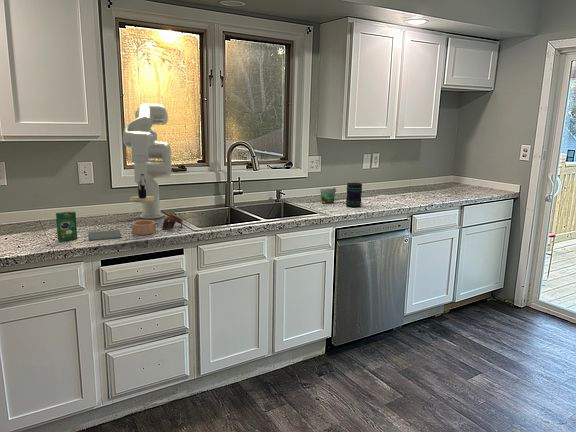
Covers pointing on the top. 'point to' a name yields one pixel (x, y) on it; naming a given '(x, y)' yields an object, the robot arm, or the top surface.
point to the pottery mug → (171, 222)
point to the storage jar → (354, 195)
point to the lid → (142, 199)
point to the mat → (104, 235)
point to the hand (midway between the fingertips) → (142, 196)
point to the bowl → (143, 227)
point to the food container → (327, 196)
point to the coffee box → (66, 226)
